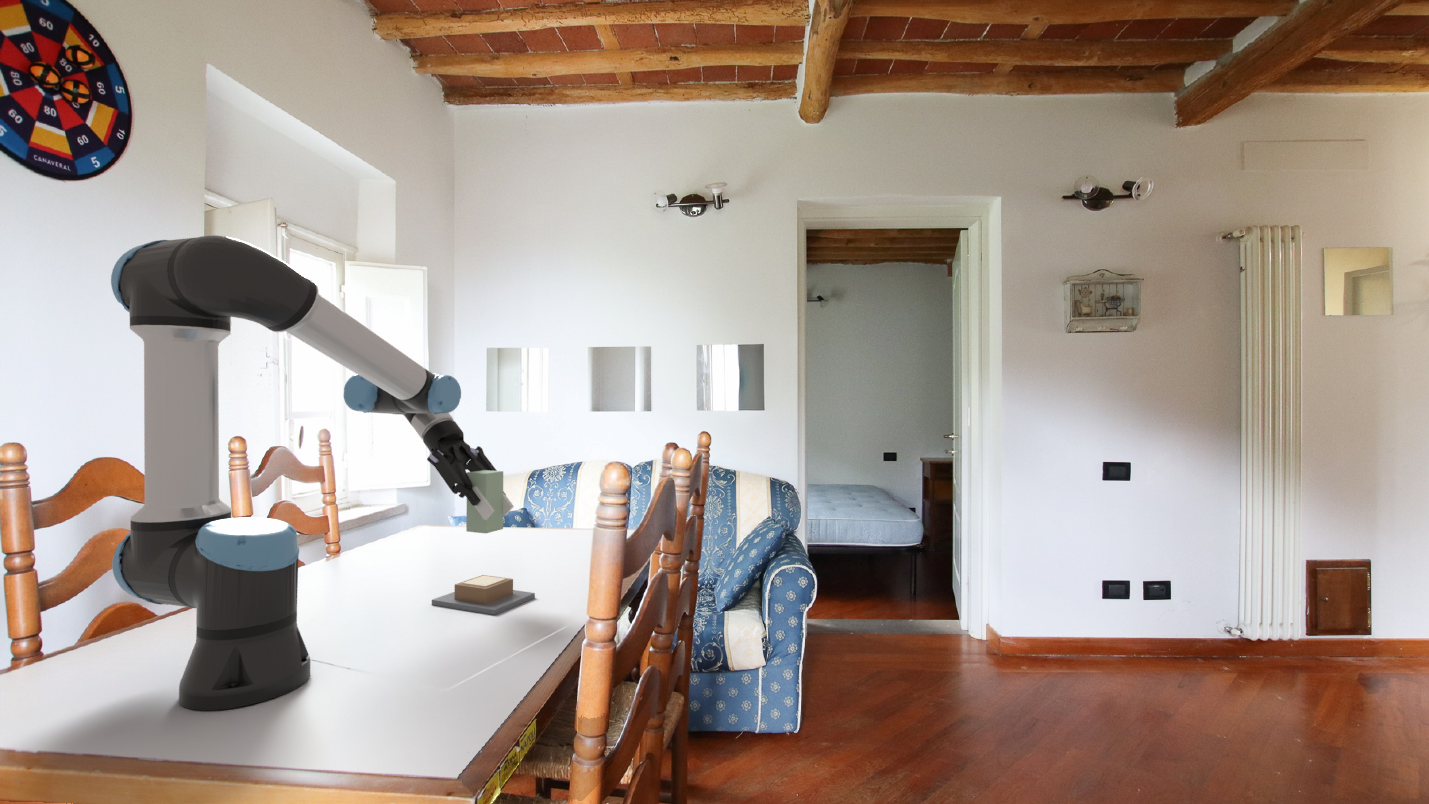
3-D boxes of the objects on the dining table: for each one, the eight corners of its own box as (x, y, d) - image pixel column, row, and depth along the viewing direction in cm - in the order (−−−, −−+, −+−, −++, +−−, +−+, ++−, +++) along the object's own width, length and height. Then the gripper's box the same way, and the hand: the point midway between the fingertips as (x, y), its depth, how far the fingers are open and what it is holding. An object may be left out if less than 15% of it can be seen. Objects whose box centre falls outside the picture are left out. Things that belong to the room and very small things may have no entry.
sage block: (485, 533, 127) (486, 473, 127) (466, 531, 129) (466, 472, 129) (502, 528, 132) (503, 471, 132) (484, 527, 134) (484, 470, 134)
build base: (494, 614, 122) (494, 593, 122) (431, 604, 128) (431, 583, 128) (534, 597, 133) (534, 577, 133) (475, 589, 139) (475, 569, 139)
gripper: (460, 440, 145) (518, 518, 139) (393, 445, 128) (455, 533, 122) (479, 417, 143) (538, 495, 137) (413, 419, 126) (477, 507, 120)
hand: (499, 512), depth 129 cm, fingers closed on sage block, 5 cm apart
